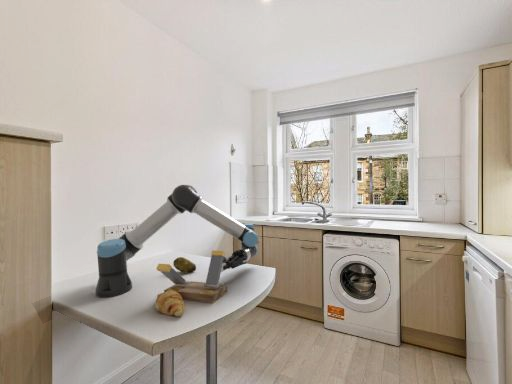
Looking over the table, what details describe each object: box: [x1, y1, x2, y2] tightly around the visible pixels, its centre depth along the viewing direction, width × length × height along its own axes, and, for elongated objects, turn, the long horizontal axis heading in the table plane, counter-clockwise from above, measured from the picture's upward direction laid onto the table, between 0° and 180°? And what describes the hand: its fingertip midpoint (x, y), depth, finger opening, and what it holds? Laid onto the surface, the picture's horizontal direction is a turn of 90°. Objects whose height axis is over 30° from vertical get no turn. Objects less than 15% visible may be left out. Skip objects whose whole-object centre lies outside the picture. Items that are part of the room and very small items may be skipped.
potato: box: [172, 256, 197, 274], centre depth 146 cm, size 8×13×8 cm, turn 52°
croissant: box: [154, 290, 185, 317], centre depth 100 cm, size 21×10×8 cm, turn 41°
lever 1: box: [155, 263, 189, 285], centre depth 111 cm, size 2×6×15 cm
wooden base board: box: [163, 280, 228, 304], centre depth 113 cm, size 12×24×3 cm, turn 68°
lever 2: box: [204, 250, 226, 288], centre depth 113 cm, size 2×6×15 cm, turn 66°
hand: (217, 270), depth 114 cm, fingers closed
